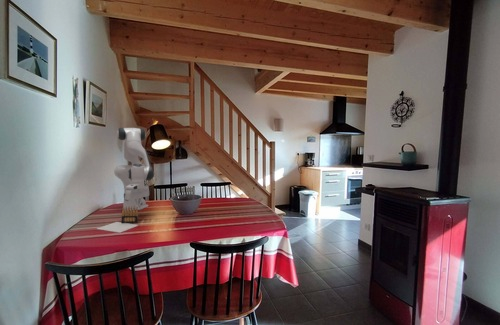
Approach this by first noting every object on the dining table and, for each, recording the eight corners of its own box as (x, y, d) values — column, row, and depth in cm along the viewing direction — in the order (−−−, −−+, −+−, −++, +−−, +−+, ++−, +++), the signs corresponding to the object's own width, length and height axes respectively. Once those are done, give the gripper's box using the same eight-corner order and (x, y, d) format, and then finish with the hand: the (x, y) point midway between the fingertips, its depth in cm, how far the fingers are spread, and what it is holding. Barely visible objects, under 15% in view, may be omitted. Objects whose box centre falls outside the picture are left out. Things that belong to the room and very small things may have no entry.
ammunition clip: (121, 223, 169) (121, 206, 169) (121, 222, 171) (122, 205, 171) (137, 222, 172) (138, 206, 172) (138, 222, 174) (138, 205, 174)
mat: (116, 222, 173) (116, 221, 173) (138, 225, 167) (138, 225, 167) (96, 229, 158) (96, 228, 158) (119, 232, 151) (119, 232, 151)
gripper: (144, 183, 189) (144, 201, 189) (123, 187, 169) (123, 206, 170) (151, 184, 187) (151, 201, 187) (130, 187, 167) (130, 207, 168)
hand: (138, 204), depth 178 cm, fingers closed
